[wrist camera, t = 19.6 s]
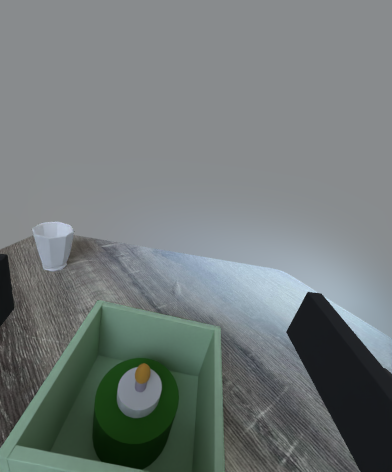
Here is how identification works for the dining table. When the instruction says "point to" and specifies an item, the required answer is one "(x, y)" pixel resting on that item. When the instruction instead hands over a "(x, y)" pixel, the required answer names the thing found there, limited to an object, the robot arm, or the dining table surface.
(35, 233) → the cup
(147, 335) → the bin
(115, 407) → the candle
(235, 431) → the dining table surface
